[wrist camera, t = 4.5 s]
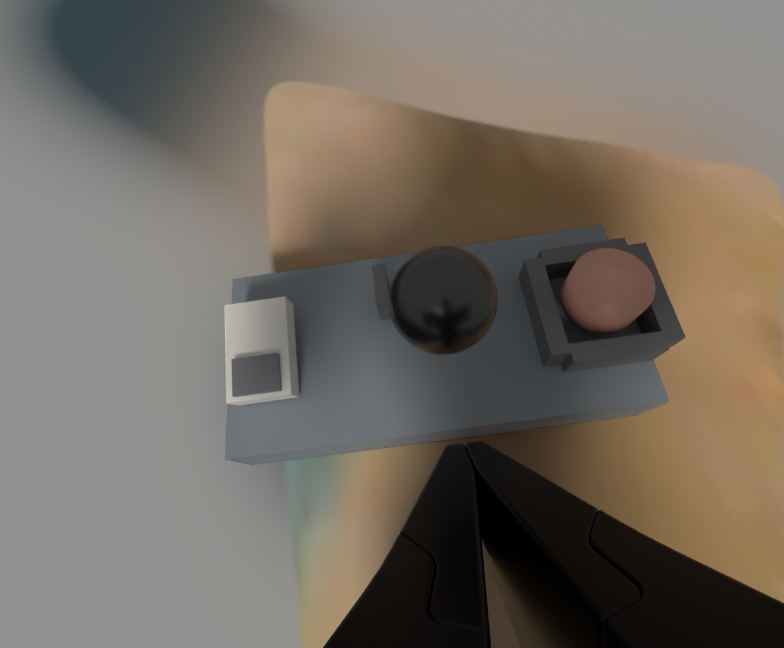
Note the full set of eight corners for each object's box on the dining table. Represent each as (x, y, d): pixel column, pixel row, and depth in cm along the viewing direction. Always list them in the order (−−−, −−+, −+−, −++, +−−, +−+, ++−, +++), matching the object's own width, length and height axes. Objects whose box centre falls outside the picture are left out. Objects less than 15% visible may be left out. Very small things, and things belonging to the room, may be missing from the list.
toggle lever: (450, 317, 20) (517, 354, 8) (400, 325, 20) (395, 371, 8) (444, 266, 20) (501, 231, 8) (392, 274, 20) (377, 249, 8)
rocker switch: (299, 396, 19) (289, 393, 17) (238, 405, 19) (223, 402, 18) (293, 304, 20) (283, 294, 19) (235, 312, 20) (221, 303, 19)
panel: (651, 413, 20) (712, 388, 16) (252, 465, 21) (204, 454, 17) (595, 255, 24) (631, 199, 19) (255, 304, 25) (216, 261, 20)
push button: (648, 328, 18) (667, 312, 16) (571, 338, 18) (583, 324, 16) (623, 263, 19) (638, 243, 17) (551, 273, 19) (561, 254, 18)
